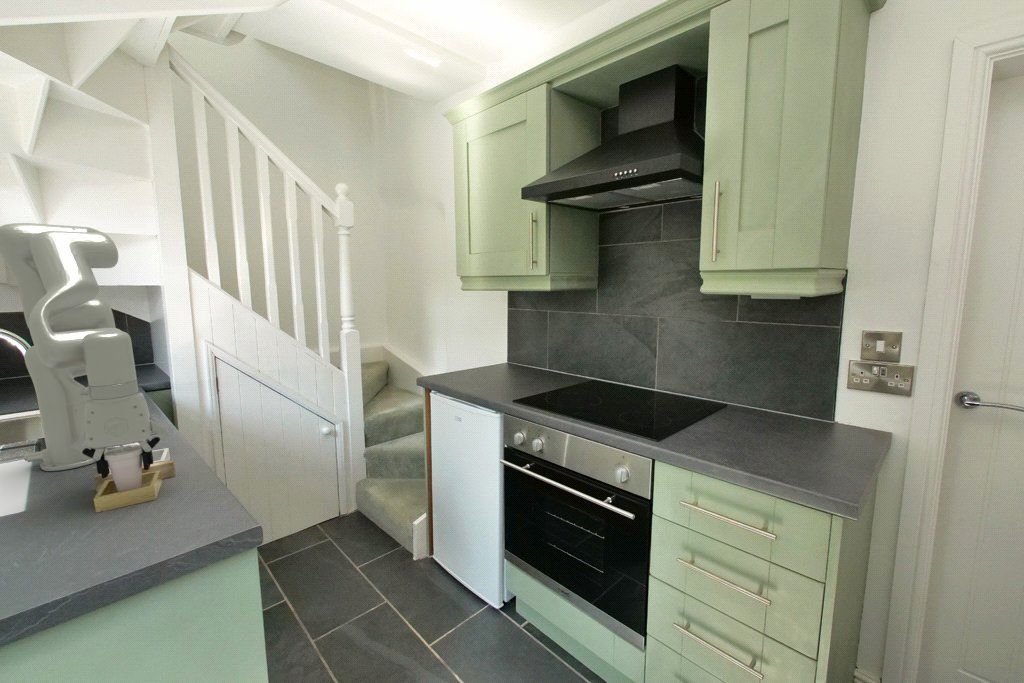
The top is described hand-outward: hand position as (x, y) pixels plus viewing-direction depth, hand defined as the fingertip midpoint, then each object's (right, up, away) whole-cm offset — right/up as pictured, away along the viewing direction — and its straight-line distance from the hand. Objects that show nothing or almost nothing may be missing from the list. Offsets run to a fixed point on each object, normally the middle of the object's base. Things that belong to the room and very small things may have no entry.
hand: (127, 471), depth 95 cm
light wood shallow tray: (0, -6, +1) cm, 6 cm away
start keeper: (-8, -4, +14) cm, 17 cm away
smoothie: (0, -5, +1) cm, 5 cm away
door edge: (-4, -5, +8) cm, 10 cm away
